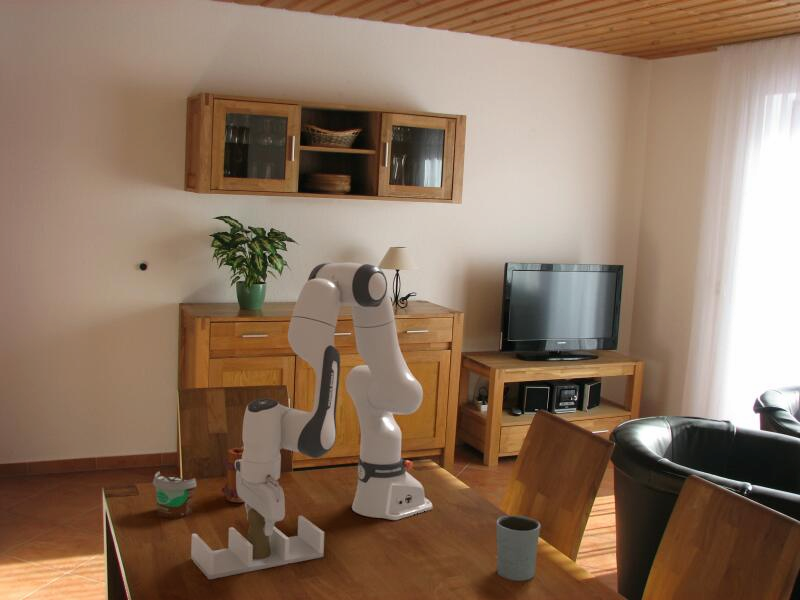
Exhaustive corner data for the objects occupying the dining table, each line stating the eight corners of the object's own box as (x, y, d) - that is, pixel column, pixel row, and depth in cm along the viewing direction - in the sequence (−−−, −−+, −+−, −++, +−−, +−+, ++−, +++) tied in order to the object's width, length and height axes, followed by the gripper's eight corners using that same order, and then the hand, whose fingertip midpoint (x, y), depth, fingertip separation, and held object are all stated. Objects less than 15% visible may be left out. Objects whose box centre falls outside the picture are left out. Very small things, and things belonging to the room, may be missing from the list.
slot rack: (301, 538, 217) (302, 515, 216) (323, 556, 207) (324, 532, 206) (191, 559, 202) (191, 534, 201) (209, 579, 192) (209, 553, 191)
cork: (275, 552, 205) (277, 507, 204) (260, 561, 200) (262, 514, 199) (254, 546, 208) (256, 502, 207) (239, 555, 203) (240, 509, 201)
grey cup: (507, 584, 196) (510, 533, 195) (485, 566, 206) (488, 517, 204) (545, 578, 200) (549, 528, 199) (522, 561, 210) (525, 512, 208)
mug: (245, 507, 236) (247, 453, 234) (217, 504, 238) (218, 450, 236) (264, 490, 250) (266, 439, 249) (237, 487, 252) (239, 436, 250)
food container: (142, 514, 228) (142, 477, 226) (157, 507, 233) (157, 471, 232) (181, 523, 223) (182, 485, 222) (196, 515, 229) (196, 478, 228)
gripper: (292, 481, 195) (290, 540, 196) (256, 456, 212) (255, 511, 213) (266, 485, 191) (264, 545, 193) (231, 459, 208) (230, 515, 210)
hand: (259, 527), depth 203 cm, fingers open, 8 cm apart
